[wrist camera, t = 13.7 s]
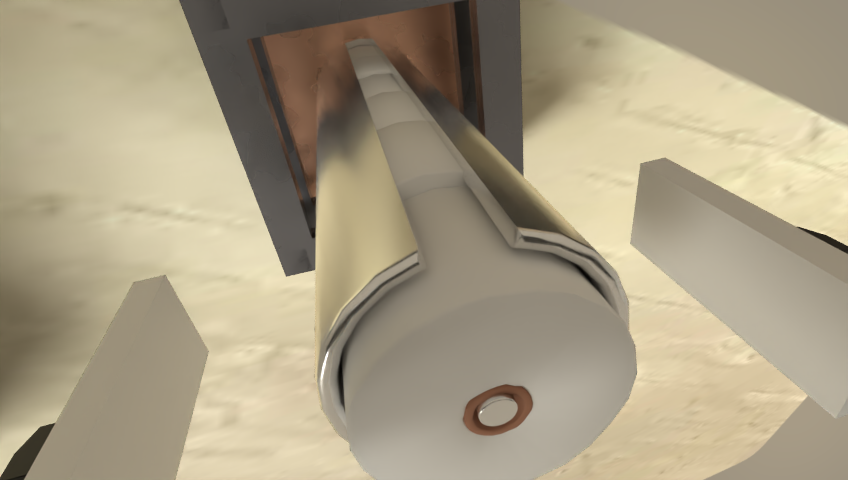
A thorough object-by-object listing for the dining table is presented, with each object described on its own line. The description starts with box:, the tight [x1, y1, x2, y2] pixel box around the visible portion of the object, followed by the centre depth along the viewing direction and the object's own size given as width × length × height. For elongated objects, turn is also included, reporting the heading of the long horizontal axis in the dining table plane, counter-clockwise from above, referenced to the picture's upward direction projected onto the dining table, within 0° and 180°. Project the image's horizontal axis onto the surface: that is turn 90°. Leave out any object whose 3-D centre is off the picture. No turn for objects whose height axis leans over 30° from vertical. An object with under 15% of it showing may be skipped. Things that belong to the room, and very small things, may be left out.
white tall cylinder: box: [315, 38, 637, 480], centre depth 19 cm, size 6×6×25 cm
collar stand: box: [179, 0, 524, 276], centre depth 26 cm, size 14×14×9 cm
